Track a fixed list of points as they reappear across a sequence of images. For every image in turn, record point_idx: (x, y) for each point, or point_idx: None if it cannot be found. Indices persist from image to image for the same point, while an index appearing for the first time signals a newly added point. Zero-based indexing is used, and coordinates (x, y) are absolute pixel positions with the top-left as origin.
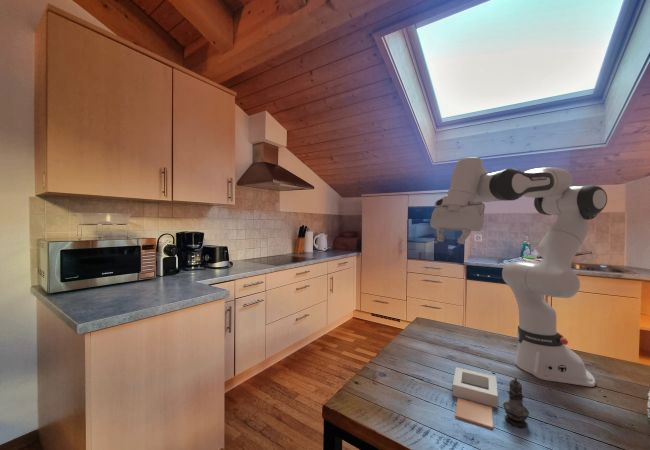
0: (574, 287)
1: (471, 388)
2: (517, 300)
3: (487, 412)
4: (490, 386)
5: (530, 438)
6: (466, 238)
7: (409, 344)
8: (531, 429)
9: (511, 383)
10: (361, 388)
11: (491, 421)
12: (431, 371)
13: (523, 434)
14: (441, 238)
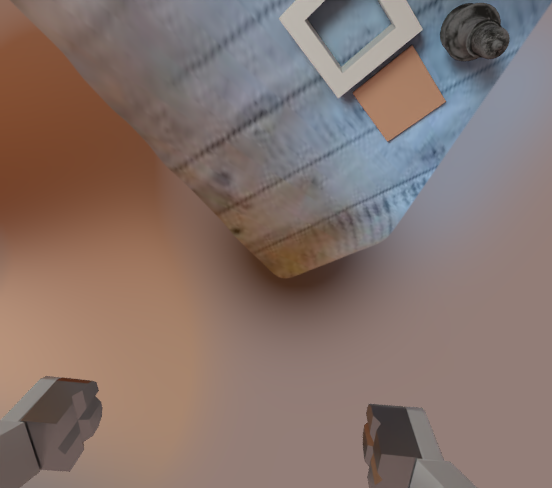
0: None
1: (370, 67)
2: None
3: (416, 72)
4: (388, 6)
5: None
6: (455, 468)
7: (73, 9)
8: None
9: (487, 57)
10: (255, 231)
11: (436, 90)
12: (238, 63)
13: None
14: (81, 429)
